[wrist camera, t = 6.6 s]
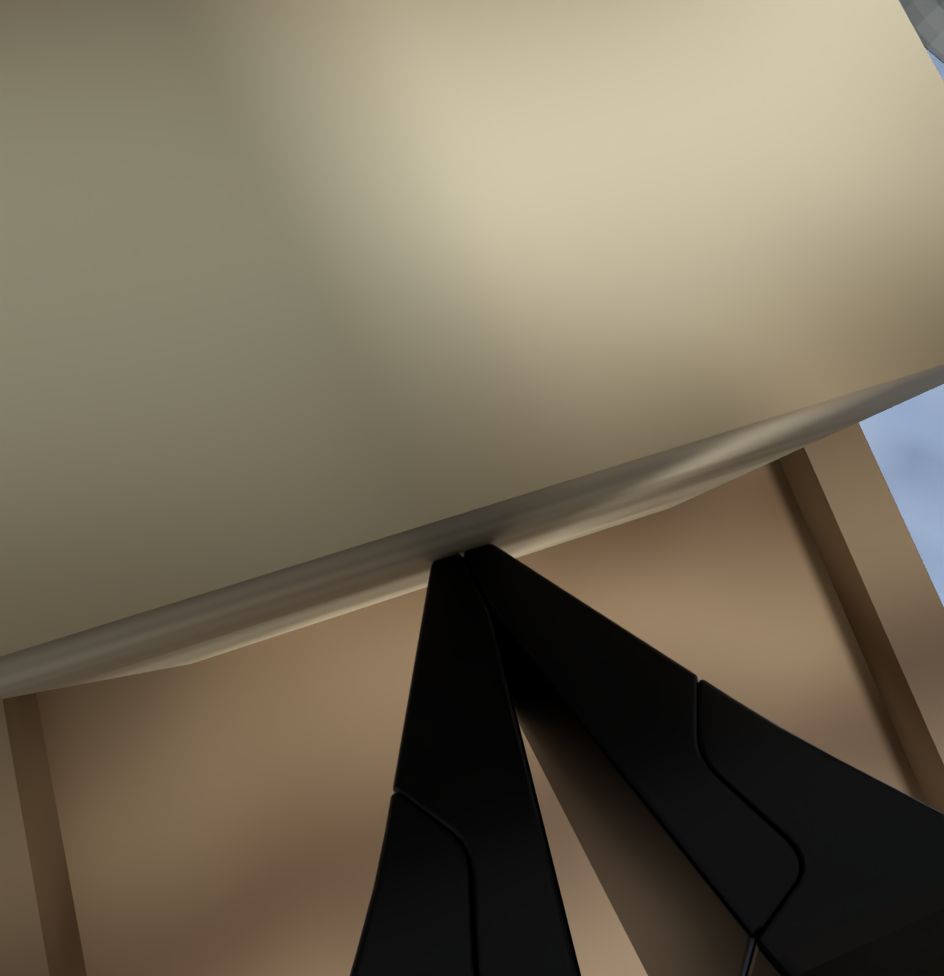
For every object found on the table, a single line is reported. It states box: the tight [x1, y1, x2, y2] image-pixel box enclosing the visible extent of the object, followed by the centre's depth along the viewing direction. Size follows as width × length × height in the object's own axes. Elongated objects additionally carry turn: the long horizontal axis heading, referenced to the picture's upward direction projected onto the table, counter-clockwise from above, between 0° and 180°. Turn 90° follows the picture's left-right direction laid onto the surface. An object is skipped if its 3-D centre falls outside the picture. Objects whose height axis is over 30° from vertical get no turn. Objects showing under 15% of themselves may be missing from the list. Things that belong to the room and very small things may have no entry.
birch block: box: [0, 0, 944, 699], centre depth 10 cm, size 11×11×9 cm
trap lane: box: [0, 423, 944, 976], centre depth 14 cm, size 36×20×4 cm, turn 18°
